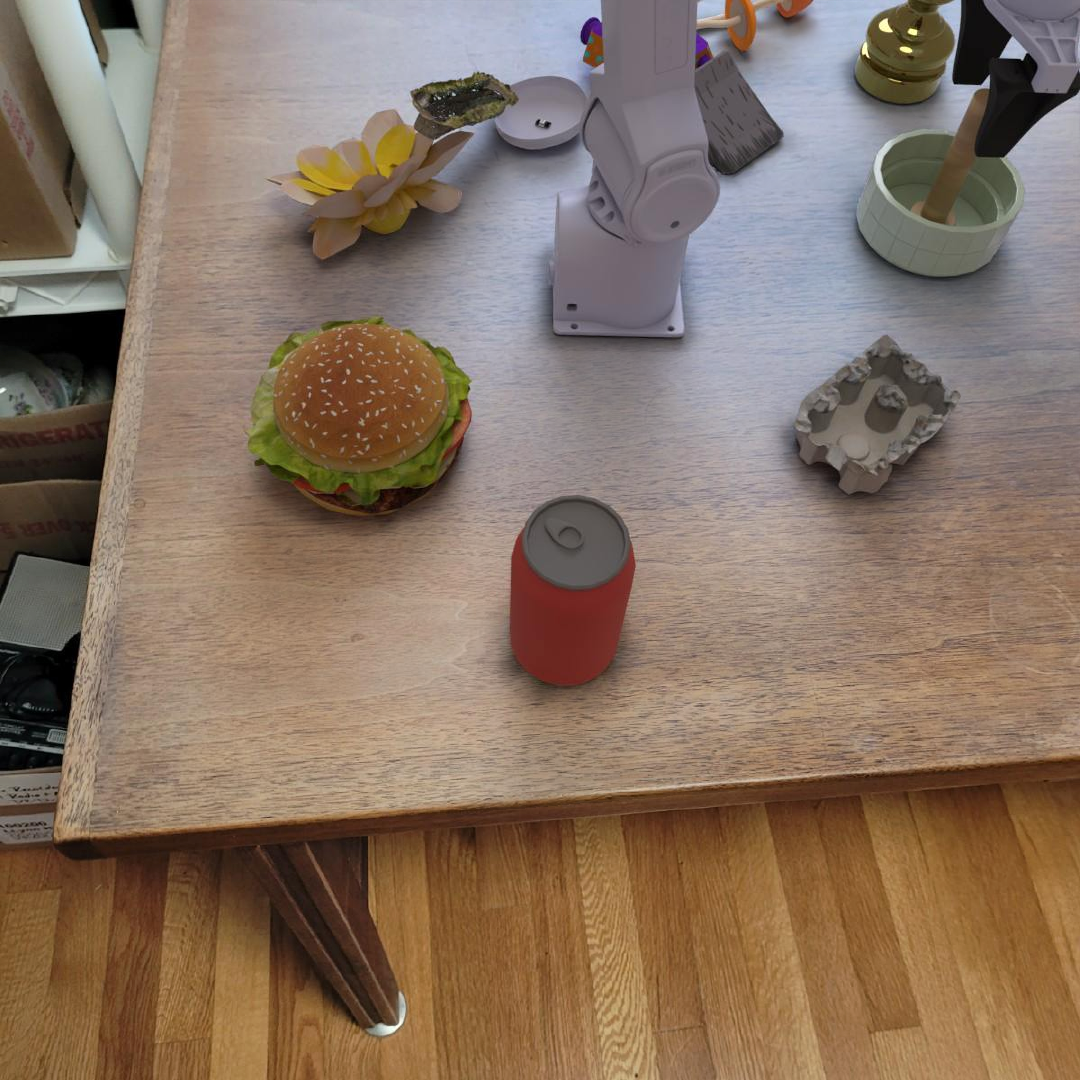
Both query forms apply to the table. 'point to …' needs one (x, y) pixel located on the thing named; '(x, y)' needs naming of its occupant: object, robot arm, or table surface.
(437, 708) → the table surface
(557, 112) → the shallow white dish
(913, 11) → the brass candlestick
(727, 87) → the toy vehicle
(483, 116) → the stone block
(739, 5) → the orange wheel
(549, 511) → the beer can
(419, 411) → the food
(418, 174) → the decorative flower
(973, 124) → the wooden pestle
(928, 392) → the egg carton
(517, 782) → the table surface
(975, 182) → the bowl
